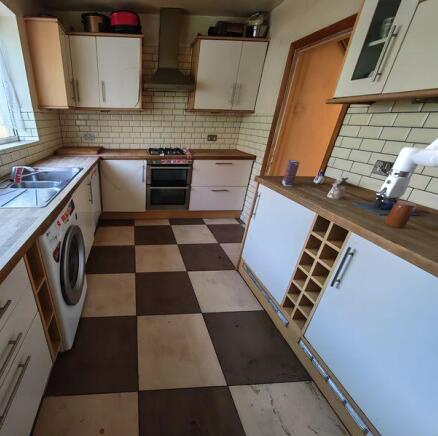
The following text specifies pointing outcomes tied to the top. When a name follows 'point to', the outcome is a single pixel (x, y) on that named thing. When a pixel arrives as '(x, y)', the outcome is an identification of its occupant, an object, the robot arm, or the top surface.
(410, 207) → the jar
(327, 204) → the top surface
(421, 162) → the robot arm
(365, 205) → the mat
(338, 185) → the figurine
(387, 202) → the lid
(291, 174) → the supplement box
